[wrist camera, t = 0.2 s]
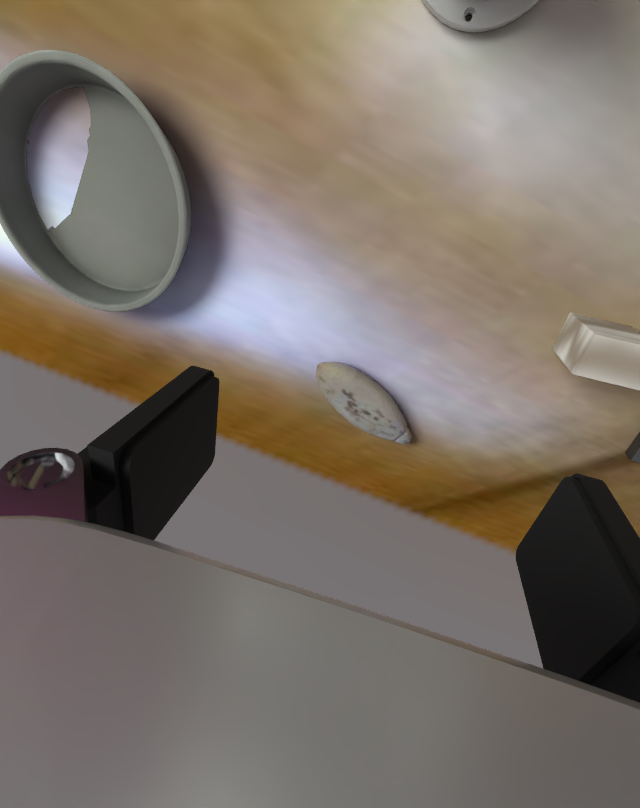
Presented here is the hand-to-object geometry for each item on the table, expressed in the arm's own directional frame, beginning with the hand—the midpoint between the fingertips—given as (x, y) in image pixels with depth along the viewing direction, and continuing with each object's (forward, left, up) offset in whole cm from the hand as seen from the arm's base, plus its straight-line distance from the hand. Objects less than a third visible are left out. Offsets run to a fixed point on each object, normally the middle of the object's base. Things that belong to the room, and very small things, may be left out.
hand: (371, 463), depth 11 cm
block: (+4, +20, -36) cm, 42 cm away
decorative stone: (+18, -1, -37) cm, 41 cm away
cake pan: (+1, -36, -37) cm, 51 cm away
